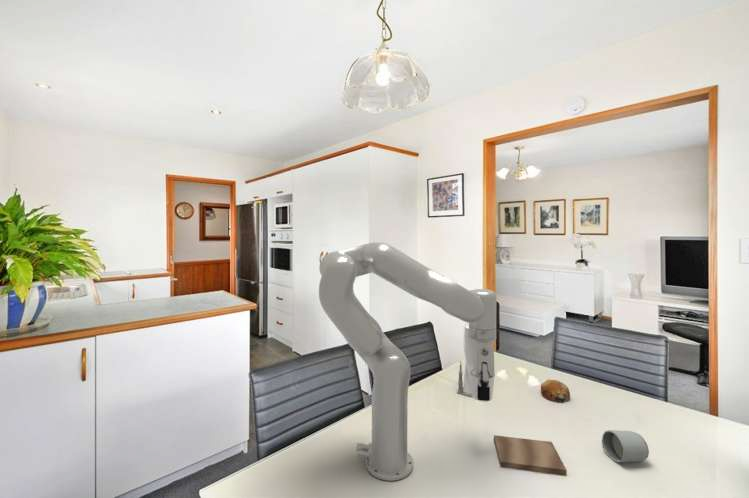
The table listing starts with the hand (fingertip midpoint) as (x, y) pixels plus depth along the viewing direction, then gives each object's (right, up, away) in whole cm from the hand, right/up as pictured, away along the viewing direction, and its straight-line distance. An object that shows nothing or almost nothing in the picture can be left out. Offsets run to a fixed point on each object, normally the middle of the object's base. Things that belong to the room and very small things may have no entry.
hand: (482, 394), depth 97 cm
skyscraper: (+7, -15, +35) cm, 39 cm away
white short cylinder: (0, -1, 0) cm, 1 cm away
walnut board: (+11, -16, -4) cm, 20 cm away
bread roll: (+38, -15, +31) cm, 51 cm away
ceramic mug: (+38, -16, -3) cm, 41 cm away
